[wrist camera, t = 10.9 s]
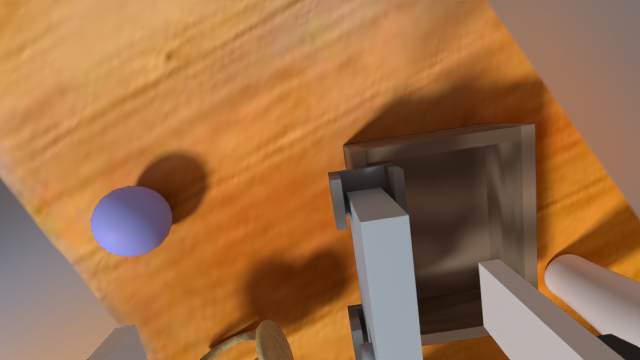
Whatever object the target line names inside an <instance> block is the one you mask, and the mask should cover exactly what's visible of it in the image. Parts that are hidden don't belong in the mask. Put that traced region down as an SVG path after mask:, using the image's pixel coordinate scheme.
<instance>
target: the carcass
mask: <svg viewBox="0 0 640 360" xmlns="http://www.w3.org/2000/svg"><path fill="white" fill-rule="evenodd" d="M343 149H344V157H345V164H346V170H342V171H336V172H329V173H328V176H329V183H330V190H331V197H332V203H333V210H334V217H335V221H336V226H337V230H342V229H348V228H347V220H346V217H347V216H350V215H349V208H348V201H347V192H353V191H360V190H367V189H373V188H380V187H381V188H382V189H383V190H384V191H385V192H386V193H387V194H388V195H389V196H390V197H391V198H392V199H393V200H394V201H395V202H396V203H397V204H398V205H399V206H400V207H401V208H402V209H403V210H404V211H405V212H406V213H407V214H408V215H409V224H410V234H411V244H412V254H413V264H414V275H415V285H416V295H417V305H418V315H419V326H420V336H421V346H426V345H432V344H439V343H446V342H453V341H459V340H466V339H473V338H480V337H486V336H491V335H490V334H489V332H488V331H487V330H486V329H485V327H484V323H483V310H482V298H481V286H480V274H479V263H480V262H485V261H491V260H496V259H500V260H501V261H502V262H503V263H505V264H506V265H507V266H508V267H510V268H511V269H512V270H513V271H515V272H516V273H517V274H518V275H520V276H521V277H522V278H523V279H525V280H526V281H527V282H528V283H530V284H531V285H532V286H533V287H535V288H536V289H537V290H538V278H537V216H536V154H535V124H514V123H486V124H480V125H473V126H466V127H460V128H453V129H447V130H440V131H433V132H427V133H420V134H414V135H407V136H400V137H394V138H387V139H380V140H374V141H367V142H361V143H354V144H347V145H343ZM348 313H349V320H350V327H351V334H352V340H353V346H354V352H355V357H356V360H362V354H361V348H360V344H366V343H368V342H367V338H366V333H365V326H364V318H363V311H362V304H358V305H351V306H348Z"/></svg>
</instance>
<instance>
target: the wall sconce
mask: <svg viewBox="0 0 640 360" xmlns="http://www.w3.org/2000/svg"><path fill="white" fill-rule="evenodd" d="M247 340H256V350H257V355H258V358H256V359H255V360H294V358H293V354H292V351H291V348H290V346H289V343H288V341H287V339H286V337H285V335H284V334H283V332H282V330H281V329H280V328H279V326H278V325H277V324H276V323H274V322H273V321H271V320H264V321H263V322H261V323H260V324H259V326H258V328H257V331H248V332H244V333H241V334H238V335H236V336H234V337H231V338H230V339H228V340H226V341H224V342H223V343H221V344H219V345H218V346H216V347H215V348H213V349H212V350H211V351H209V352H208V353H207V354H206V355H204V356H203V357H202V358H201V359H200V360H212V359H214V358H215V357H216V356H218V355H219V354H221V353H222V352H224V351H225V350H227V349H229V348H230V347H232V346H234V345H236V344H238V343H241V342H243V341H247Z"/></svg>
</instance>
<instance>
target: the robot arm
mask: <svg viewBox="0 0 640 360" xmlns="http://www.w3.org/2000/svg"><path fill="white" fill-rule="evenodd" d="M479 274H480V286H481V298H482V310H483V323H484V327H485V329H486V330H487V331H488V332H489V334H490V335H491V336H492V337H493V339H494V340H495V341H496V342H497V344H498V345H499V346H500V347H501V349H502V350H503V351H504V353H505V354H506V355H507V356H508V358H509V359H510V360H640V348H639V347H638V346H636V345H634V344H632V343H630V342H628V341H626V340H624V339H621V338H619V337H617V336H615V335H613V334H605V335H599V336H595V335H593V334H592V333H591V332H590V331H588V330H587V329H586V328H585V327H583V326H582V325H581V324H580V323H578V322H577V321H576V320H575V319H573V318H572V317H571V316H570V315H568V314H567V313H566V312H565V311H563V310H562V309H561V308H560V307H558V306H557V305H556V304H555V303H553V302H552V301H551V300H550V299H548V298H547V297H546V296H545V295H543V294H542V293H541V292H540V291H538V290H537V289H536V288H535V287H533V286H532V285H531V284H530V283H528V282H527V281H526V280H525V279H523V278H522V277H521V276H520V275H518V274H517V273H516V272H515V271H513V270H512V269H511V268H510V267H508V266H507V265H506V264H505V263H503V262H502V261H501V260H500V259H496V260H491V261H485V262H480V263H479ZM87 360H148V359H147V356H146V354H145V351H144V348H143V345H142V343H141V340H140V337H139V334H138V332H137V329H136V326H135V325H131V326H125V327H120V328H115V329H114V330H113V331H112V333H111V334H110V335H109V336H108V337H107V338H106V339H105V340H104V341H103V343H102V344H101V345H100V346H99V347H98V348H97V349H96V350H95V352H94V353H93V354H92V355H91V356H90V357H89V358H88V359H87Z"/></svg>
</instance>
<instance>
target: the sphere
mask: <svg viewBox="0 0 640 360" xmlns="http://www.w3.org/2000/svg"><path fill="white" fill-rule="evenodd" d="M171 226H172V212H171V209H170V206H169V204H168V203H167V201H166V200H165V199H164V197H163V196H161V195H160V194H159V193H157V192H156V191H154V190H151V189H149V188H146V187H142V186H127V187H123V188H119V189H116V190H114V191H112V192H110V193H109V194H107V195H106V196H104V197H103V198H102V199H101V200H100V201H99V203H98V204H97V206H96V207H95V208H94V210H93V214H92V217H91V231H92V233H93V236H94V238H95V240H96V241H97V242H98V244H99V245H100V246H101V247H102V248H104V249H105V250H107V251H108V252H110V253H113V254H116V255H119V256H130V257H133V256H138V255H142V254H146V253H149V252H150V251H152V250H153V249H155V248H156V247H158V246H159V245H161V243H162V242H163V241H164V240H165V238H166V237H167V236H168V234H169V232H170V229H171Z"/></svg>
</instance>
